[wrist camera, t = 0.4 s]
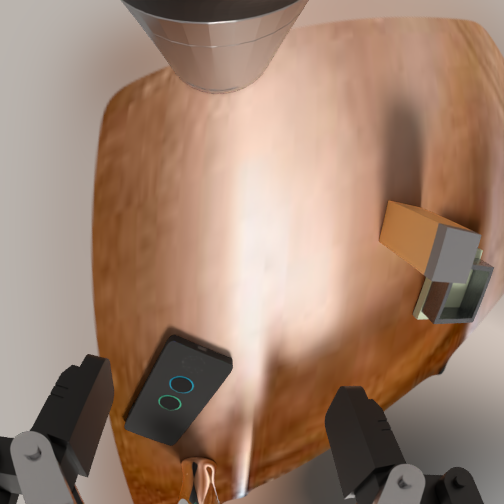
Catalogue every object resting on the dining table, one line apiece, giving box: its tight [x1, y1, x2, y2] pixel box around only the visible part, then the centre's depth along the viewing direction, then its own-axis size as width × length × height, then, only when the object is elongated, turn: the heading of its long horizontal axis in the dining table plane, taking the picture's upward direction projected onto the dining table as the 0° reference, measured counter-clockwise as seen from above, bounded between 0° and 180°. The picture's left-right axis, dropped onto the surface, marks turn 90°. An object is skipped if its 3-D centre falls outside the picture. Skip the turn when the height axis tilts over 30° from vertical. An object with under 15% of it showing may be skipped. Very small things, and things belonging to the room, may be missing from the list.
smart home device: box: [125, 335, 233, 446], centre depth 36 cm, size 8×2×20 cm
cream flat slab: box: [413, 248, 483, 319], centre depth 33 cm, size 10×8×1 cm
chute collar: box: [421, 258, 494, 324], centre depth 31 cm, size 8×8×3 cm
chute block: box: [379, 200, 481, 284], centre depth 26 cm, size 4×4×10 cm
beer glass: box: [177, 457, 219, 504], centre depth 35 cm, size 7×7×15 cm
